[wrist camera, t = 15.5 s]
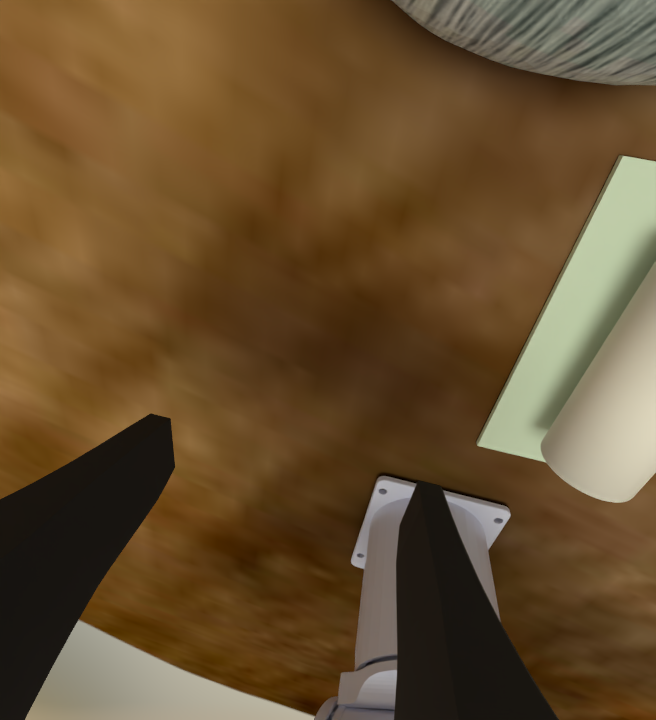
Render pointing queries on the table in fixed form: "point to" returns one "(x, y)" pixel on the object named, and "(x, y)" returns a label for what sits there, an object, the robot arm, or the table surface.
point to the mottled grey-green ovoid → (551, 35)
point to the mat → (579, 310)
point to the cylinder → (612, 410)
